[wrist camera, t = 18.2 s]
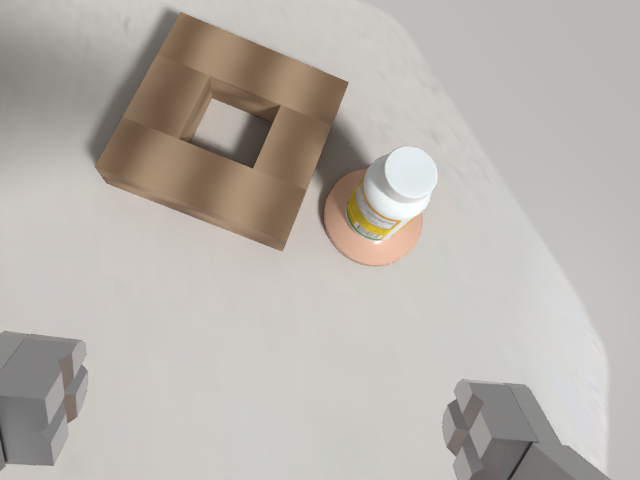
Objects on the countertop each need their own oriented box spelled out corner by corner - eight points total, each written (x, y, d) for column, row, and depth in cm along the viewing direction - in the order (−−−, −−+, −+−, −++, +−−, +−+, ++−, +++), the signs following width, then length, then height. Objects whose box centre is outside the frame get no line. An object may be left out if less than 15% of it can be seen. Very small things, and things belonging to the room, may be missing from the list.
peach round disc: (309, 244, 42) (311, 241, 41) (341, 158, 45) (344, 153, 44) (403, 280, 43) (407, 278, 42) (429, 193, 45) (433, 190, 44)
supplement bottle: (353, 248, 42) (386, 214, 32) (337, 191, 43) (364, 143, 34) (409, 235, 43) (456, 199, 34) (392, 181, 44) (433, 131, 35)
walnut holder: (106, 183, 40) (94, 166, 37) (184, 38, 45) (180, 12, 42) (282, 251, 41) (286, 241, 38) (340, 102, 46) (348, 82, 43)
